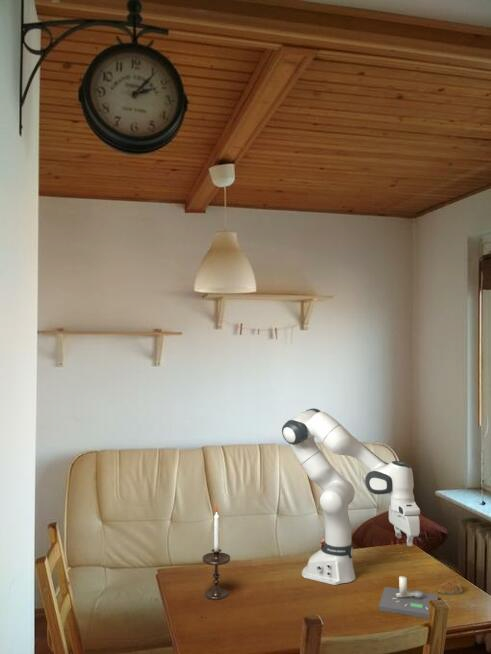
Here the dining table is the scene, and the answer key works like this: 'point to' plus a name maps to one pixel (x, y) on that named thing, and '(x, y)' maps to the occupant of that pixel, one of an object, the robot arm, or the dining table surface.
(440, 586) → the pastry
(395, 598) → the dial plate
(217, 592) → the candlestick
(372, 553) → the dining table surface
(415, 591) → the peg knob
